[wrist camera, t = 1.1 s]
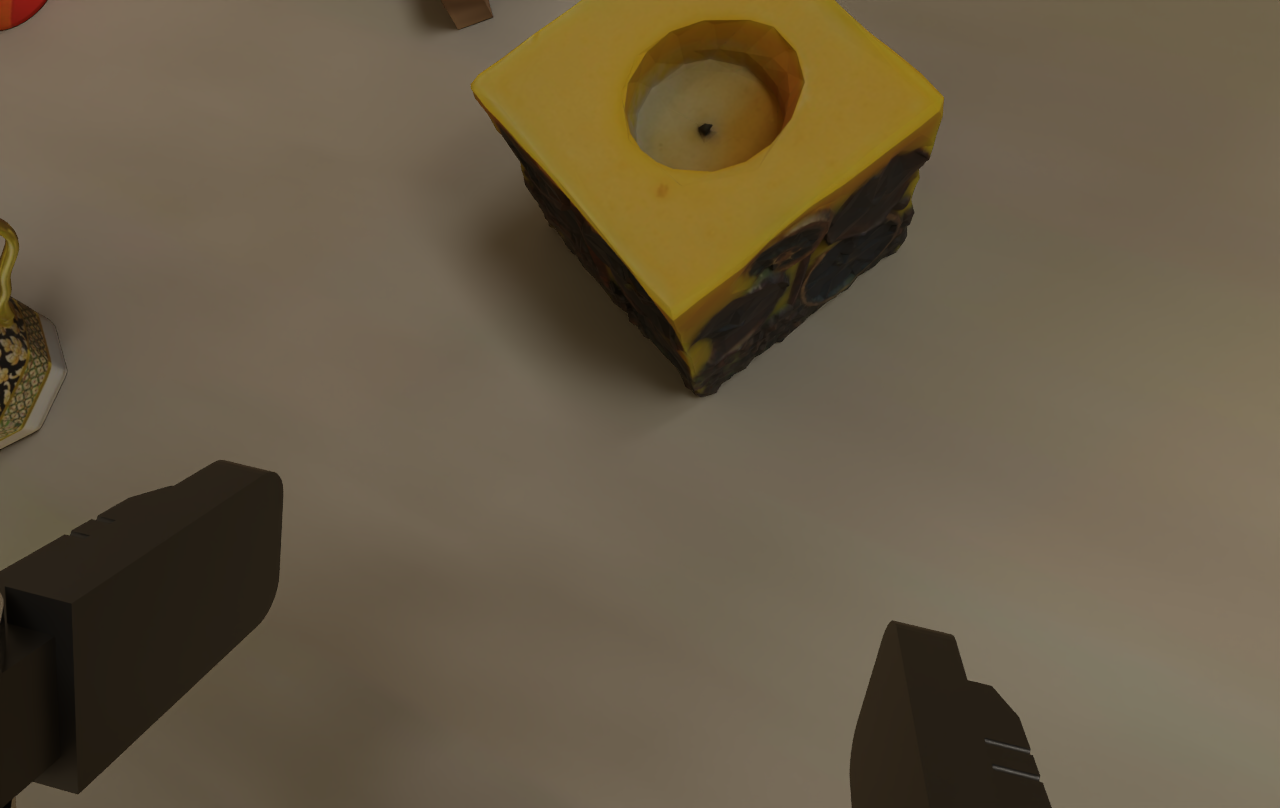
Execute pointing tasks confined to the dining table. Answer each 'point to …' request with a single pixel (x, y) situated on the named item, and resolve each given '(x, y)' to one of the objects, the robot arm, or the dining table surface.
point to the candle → (716, 161)
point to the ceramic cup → (24, 356)
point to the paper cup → (17, 11)
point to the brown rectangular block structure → (467, 11)
